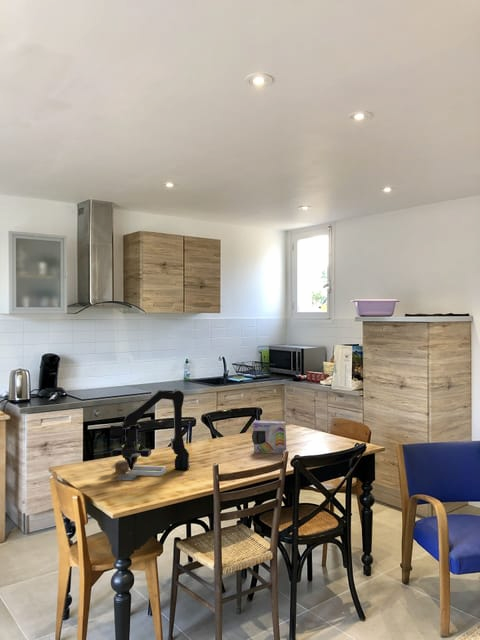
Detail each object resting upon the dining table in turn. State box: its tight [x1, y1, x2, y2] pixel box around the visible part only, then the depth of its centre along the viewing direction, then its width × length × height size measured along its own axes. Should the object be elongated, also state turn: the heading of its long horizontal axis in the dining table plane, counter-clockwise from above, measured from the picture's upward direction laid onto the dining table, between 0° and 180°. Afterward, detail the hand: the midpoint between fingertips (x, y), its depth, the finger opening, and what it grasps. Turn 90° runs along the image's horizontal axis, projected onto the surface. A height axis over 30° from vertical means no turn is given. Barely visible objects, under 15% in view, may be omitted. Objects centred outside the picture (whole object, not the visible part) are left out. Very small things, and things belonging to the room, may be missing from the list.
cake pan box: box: [251, 419, 287, 455], centre depth 293 cm, size 19×5×18 cm, turn 73°
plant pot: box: [121, 443, 141, 463], centre depth 275 cm, size 9×9×9 cm
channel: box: [127, 465, 167, 477], centre depth 255 cm, size 17×9×2 cm, turn 84°
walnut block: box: [114, 460, 130, 475], centre depth 256 cm, size 5×5×5 cm
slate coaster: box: [115, 473, 139, 482], centre depth 246 cm, size 8×8×1 cm
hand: (131, 469), depth 256 cm, fingers closed
